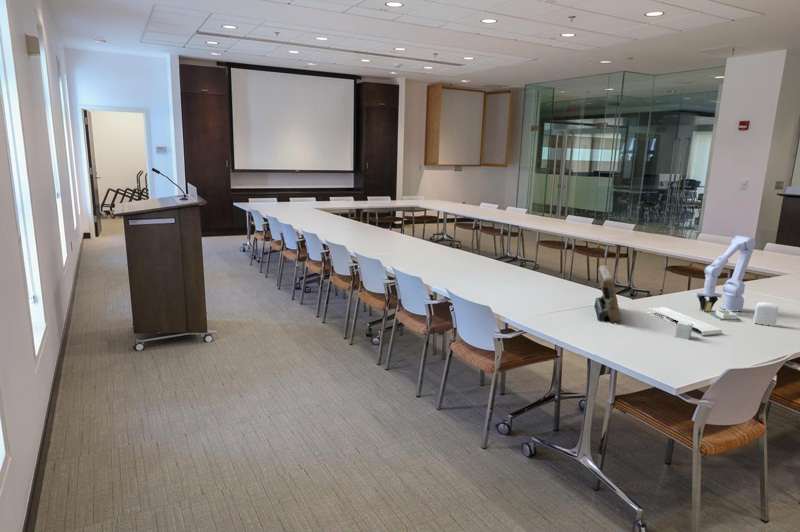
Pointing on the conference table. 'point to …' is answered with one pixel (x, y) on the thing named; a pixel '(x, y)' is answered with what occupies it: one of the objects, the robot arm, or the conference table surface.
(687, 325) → the skincare box
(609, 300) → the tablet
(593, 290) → the conference table surface
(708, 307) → the plug
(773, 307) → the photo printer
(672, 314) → the white keyboard
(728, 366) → the conference table surface
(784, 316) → the conference table surface
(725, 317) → the board
